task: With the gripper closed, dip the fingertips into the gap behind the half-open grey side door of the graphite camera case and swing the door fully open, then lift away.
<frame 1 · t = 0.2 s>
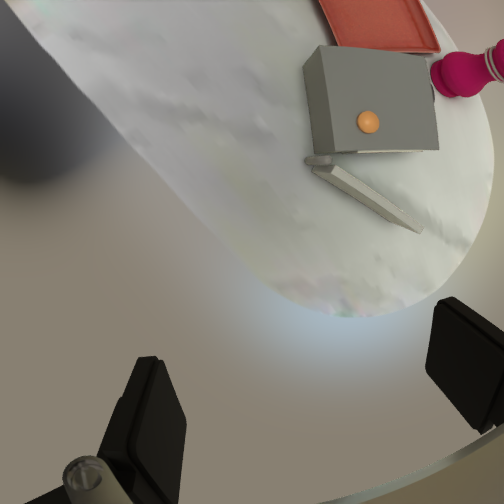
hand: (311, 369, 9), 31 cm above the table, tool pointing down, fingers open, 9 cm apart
camera case: (358, 108, 36), on the table
pepper mill: (444, 79, 35), on the table
plant saucer: (366, 9, 32), on the table
side door: (364, 192, 35), point 4 cm above the table, hinge at 35.0°
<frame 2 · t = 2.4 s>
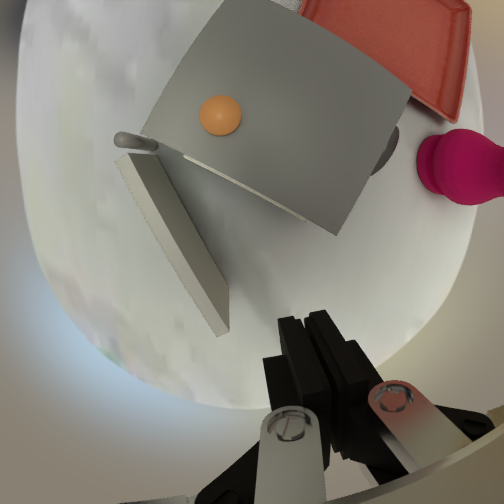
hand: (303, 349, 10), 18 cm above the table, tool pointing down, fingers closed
camera case: (271, 117, 24), on the table
pepper mill: (437, 164, 27), on the table
plant saucer: (387, 21, 22), on the table
side door: (179, 226, 22), point 4 cm above the table, hinge at 35.0°
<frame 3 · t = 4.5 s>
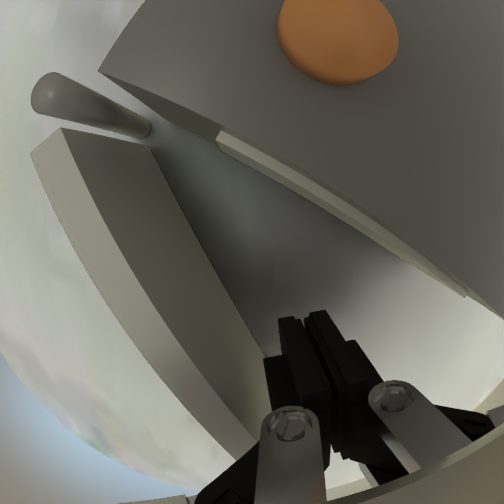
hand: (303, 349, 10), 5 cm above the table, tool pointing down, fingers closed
camera case: (358, 89, 13), on the table
side door: (197, 298, 11), point 4 cm above the table, hinge at 35.0°, touching gripper
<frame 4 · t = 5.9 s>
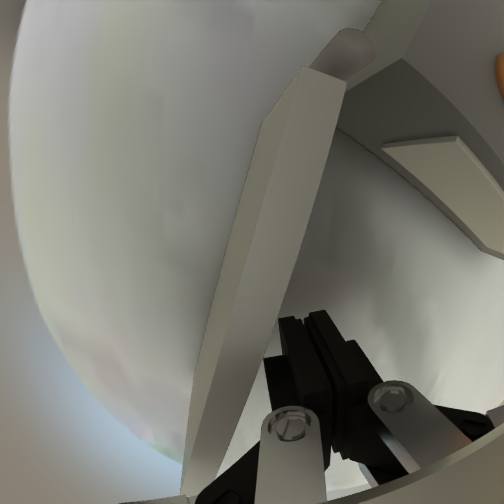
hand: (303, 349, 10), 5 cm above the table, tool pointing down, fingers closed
camera case: (455, 108, 13), on the table
side door: (246, 283, 11), point 4 cm above the table, hinge at 76.1°, touching gripper
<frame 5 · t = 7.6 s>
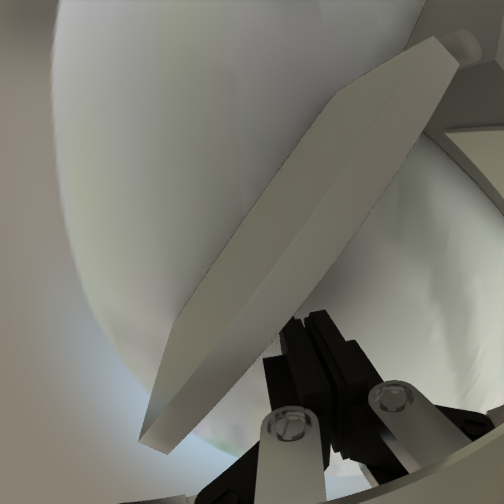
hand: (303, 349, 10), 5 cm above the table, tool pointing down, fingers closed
camera case: (492, 100, 13), on the table
side door: (290, 220, 10), point 4 cm above the table, hinge at 96.9°
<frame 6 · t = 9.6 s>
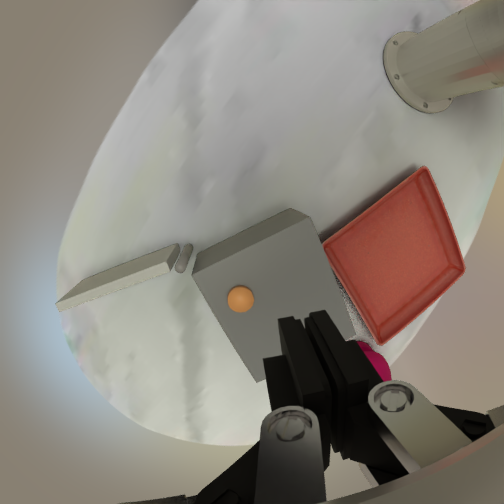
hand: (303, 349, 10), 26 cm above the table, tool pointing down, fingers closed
camera case: (269, 281, 37), on the table
pepper mill: (351, 358, 42), on the table
plant saucer: (394, 254, 39), on the table
side door: (124, 276, 31), point 4 cm above the table, hinge at 96.9°
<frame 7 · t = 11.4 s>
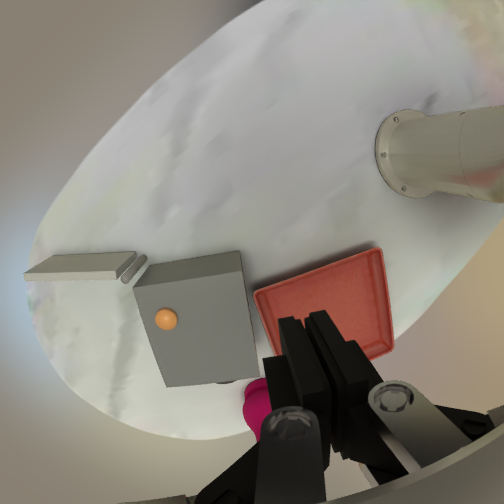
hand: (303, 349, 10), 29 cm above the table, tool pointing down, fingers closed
camera case: (203, 306, 41), on the table
pepper mill: (263, 391, 46), on the table
plant saucer: (326, 315, 44), on the table
side door: (84, 267, 34), point 4 cm above the table, hinge at 96.9°
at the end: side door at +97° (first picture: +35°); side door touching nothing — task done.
